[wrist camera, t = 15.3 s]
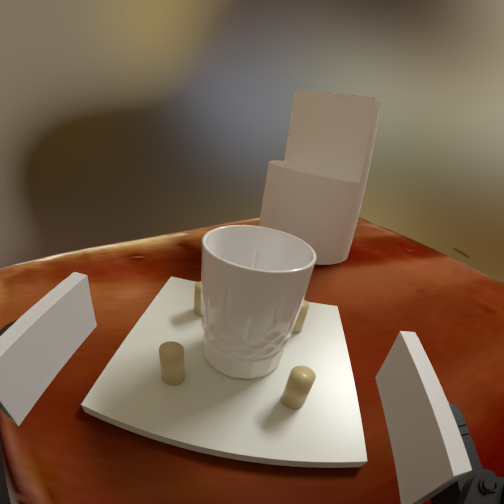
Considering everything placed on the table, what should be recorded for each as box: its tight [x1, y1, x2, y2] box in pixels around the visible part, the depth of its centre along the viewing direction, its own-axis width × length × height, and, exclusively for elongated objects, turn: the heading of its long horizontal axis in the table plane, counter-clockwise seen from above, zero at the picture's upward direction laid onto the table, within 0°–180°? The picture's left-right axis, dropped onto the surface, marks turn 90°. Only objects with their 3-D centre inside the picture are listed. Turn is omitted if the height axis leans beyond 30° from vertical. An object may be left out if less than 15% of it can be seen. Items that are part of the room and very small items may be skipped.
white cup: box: [201, 225, 316, 379], centre depth 22 cm, size 8×8×10 cm
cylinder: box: [259, 92, 380, 265], centre depth 47 cm, size 17×17×28 cm
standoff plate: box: [81, 277, 367, 468], centre depth 23 cm, size 20×20×4 cm
